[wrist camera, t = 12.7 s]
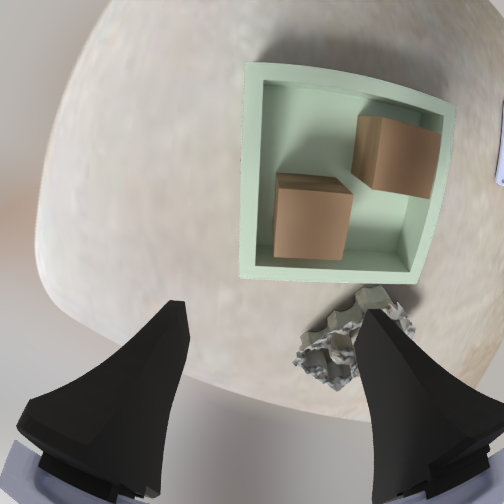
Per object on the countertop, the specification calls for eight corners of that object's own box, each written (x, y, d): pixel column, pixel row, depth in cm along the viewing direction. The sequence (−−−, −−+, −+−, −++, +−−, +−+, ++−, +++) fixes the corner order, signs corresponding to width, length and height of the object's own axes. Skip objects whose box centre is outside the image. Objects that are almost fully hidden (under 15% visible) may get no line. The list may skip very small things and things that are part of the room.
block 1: (335, 177, 17) (353, 194, 14) (328, 231, 19) (341, 260, 15) (276, 172, 17) (279, 188, 14) (272, 228, 19) (273, 257, 16)
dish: (428, 103, 14) (456, 105, 11) (398, 260, 20) (416, 284, 17) (248, 72, 14) (244, 62, 11) (242, 252, 21) (238, 278, 18)
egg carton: (375, 271, 21) (393, 300, 18) (409, 313, 24) (425, 341, 20) (285, 338, 25) (287, 372, 22) (329, 368, 28) (335, 398, 24)
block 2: (409, 127, 15) (441, 134, 11) (401, 181, 17) (429, 199, 13) (357, 115, 15) (382, 116, 11) (350, 173, 17) (371, 189, 13)
